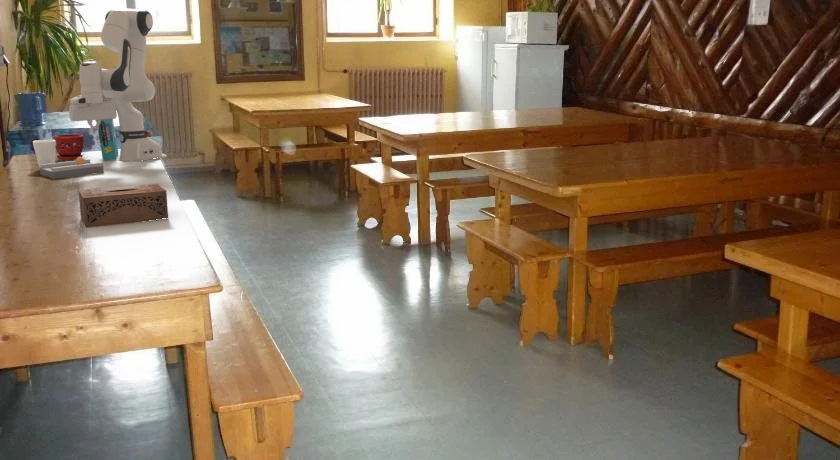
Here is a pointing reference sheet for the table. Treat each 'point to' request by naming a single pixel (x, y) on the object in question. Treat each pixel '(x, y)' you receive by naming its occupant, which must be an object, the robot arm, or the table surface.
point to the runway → (70, 169)
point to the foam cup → (45, 151)
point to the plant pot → (69, 146)
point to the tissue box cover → (122, 205)
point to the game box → (108, 140)
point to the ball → (80, 161)
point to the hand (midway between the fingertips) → (94, 130)
